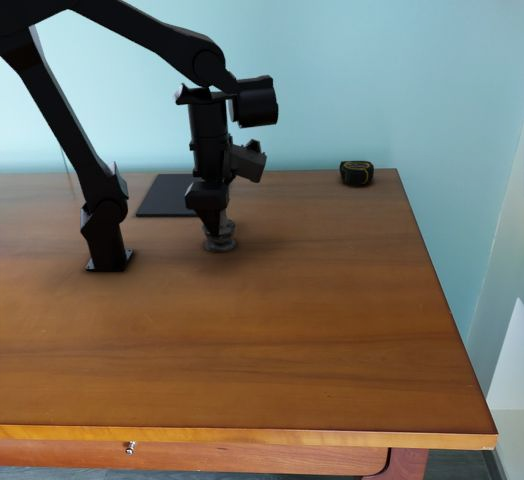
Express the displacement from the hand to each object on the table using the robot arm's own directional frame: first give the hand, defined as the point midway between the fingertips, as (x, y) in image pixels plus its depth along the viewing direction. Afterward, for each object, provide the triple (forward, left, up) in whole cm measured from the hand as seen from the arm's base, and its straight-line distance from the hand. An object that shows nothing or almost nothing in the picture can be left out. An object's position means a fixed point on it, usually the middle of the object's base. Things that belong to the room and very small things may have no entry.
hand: (218, 226), depth 90 cm
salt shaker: (0, 0, -4) cm, 4 cm away
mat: (+21, +10, -4) cm, 24 cm away
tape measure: (+28, -25, -4) cm, 38 cm away
